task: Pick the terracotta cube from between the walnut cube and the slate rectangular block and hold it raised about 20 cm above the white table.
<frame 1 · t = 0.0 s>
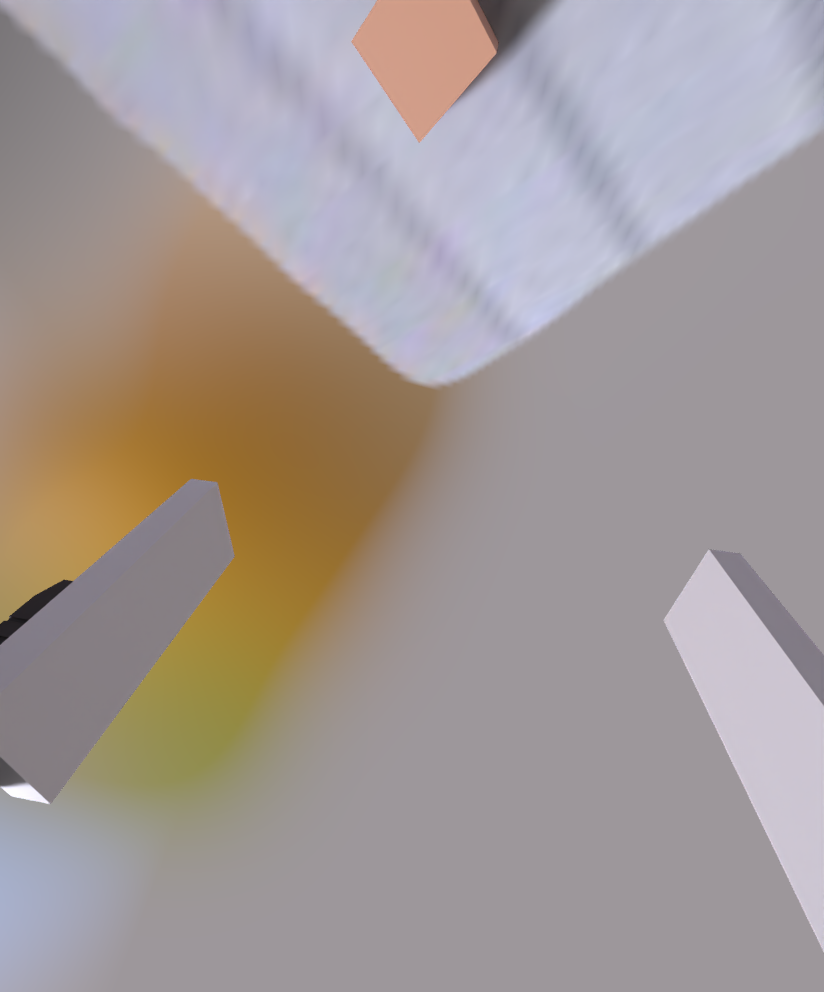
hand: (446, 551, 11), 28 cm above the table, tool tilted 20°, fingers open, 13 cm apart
terracotta cube: (435, 37, 22), on the table
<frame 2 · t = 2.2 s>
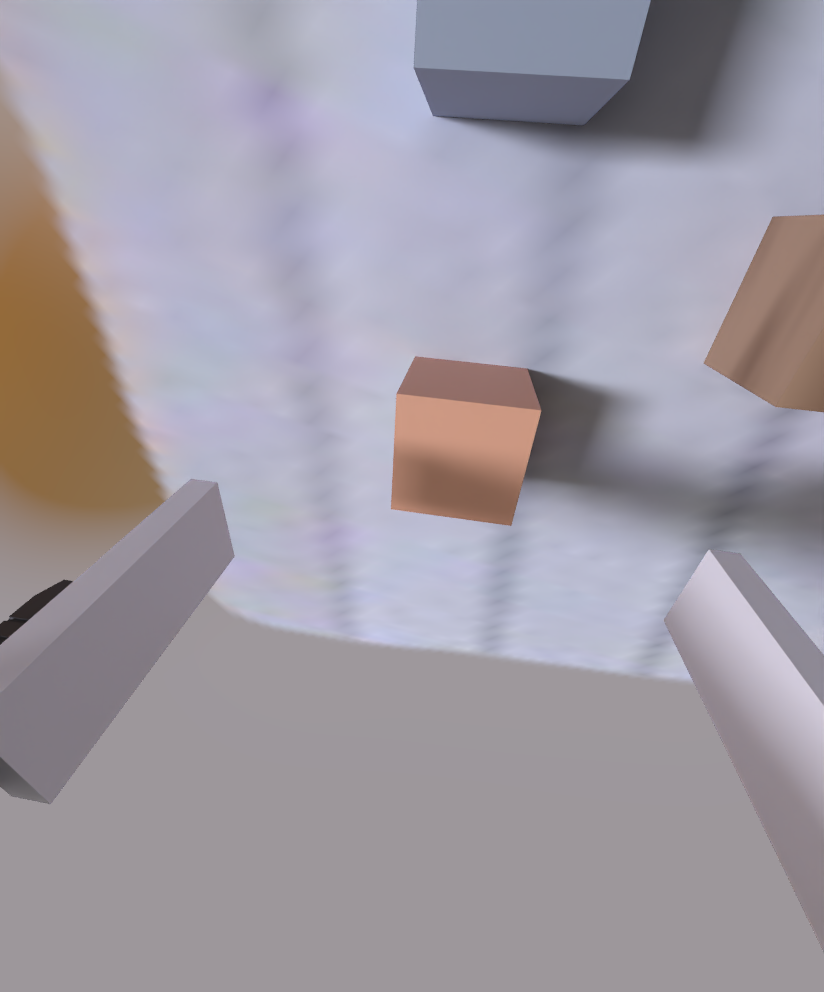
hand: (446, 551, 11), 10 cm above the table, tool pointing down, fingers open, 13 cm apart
terracotta cube: (462, 414, 19), on the table
slate rectangular block: (523, 9, 12), on the table
walnut cube: (803, 303, 15), on the table
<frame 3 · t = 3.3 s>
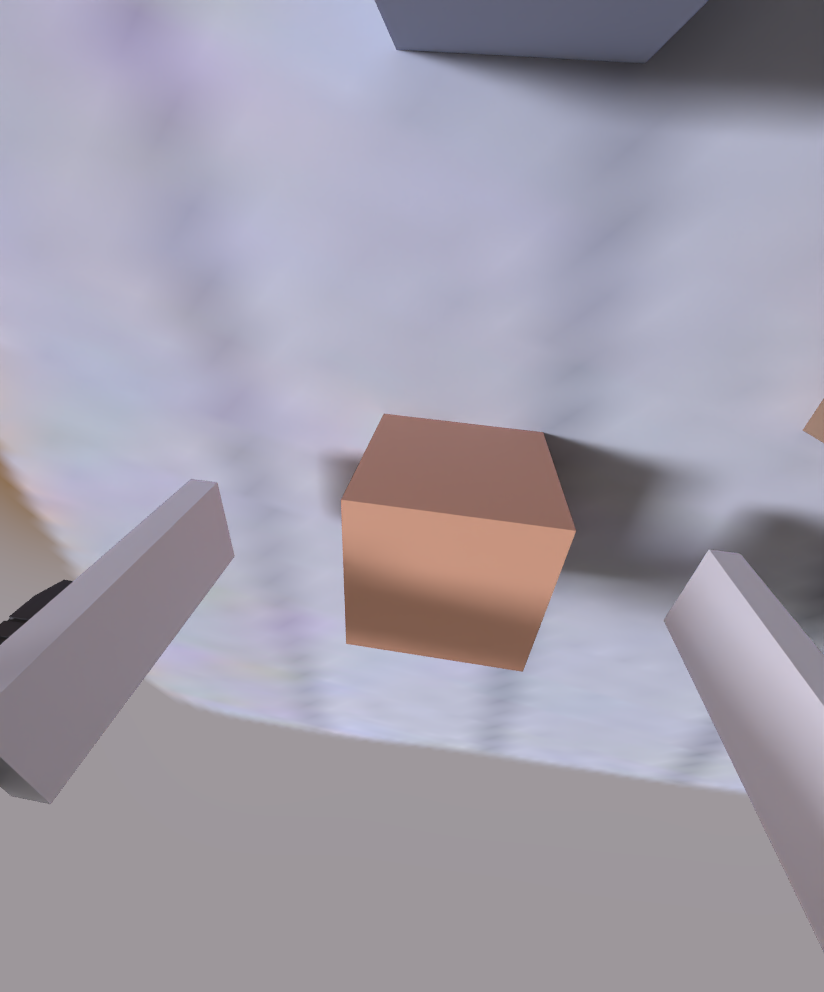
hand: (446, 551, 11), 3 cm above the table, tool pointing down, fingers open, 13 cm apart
terracotta cube: (452, 488, 14), on the table
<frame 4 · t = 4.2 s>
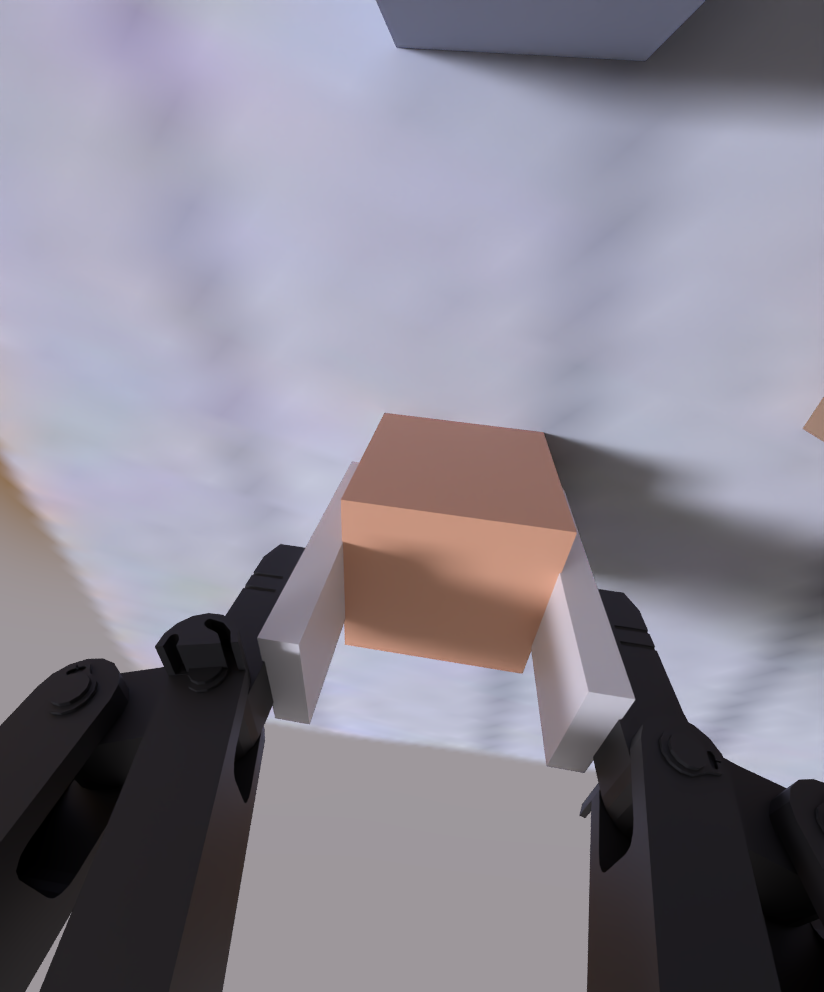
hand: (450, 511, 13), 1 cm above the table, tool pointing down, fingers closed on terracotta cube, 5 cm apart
terracotta cube: (452, 489, 14), on the table, touching gripper
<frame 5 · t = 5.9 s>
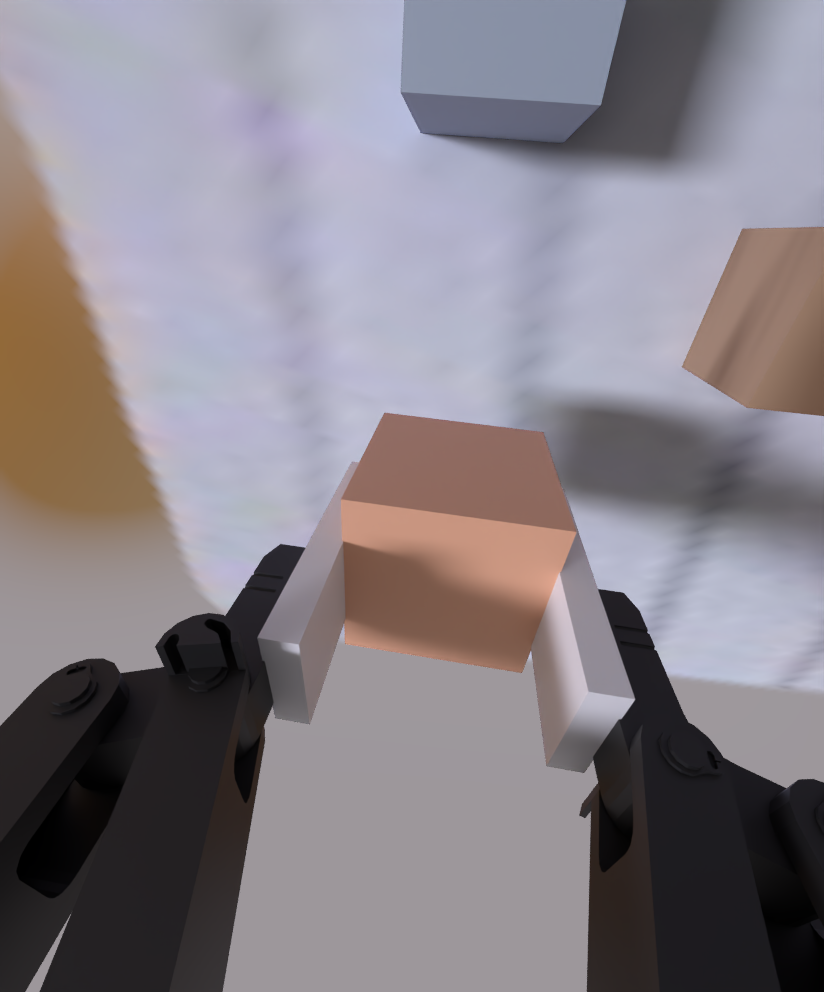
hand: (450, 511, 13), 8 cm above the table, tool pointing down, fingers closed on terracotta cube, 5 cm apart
terracotta cube: (452, 489, 14), point 7 cm above the table, touching gripper
slate rectangular block: (505, 35, 13), on the table
walnut cube: (773, 309, 16), on the table
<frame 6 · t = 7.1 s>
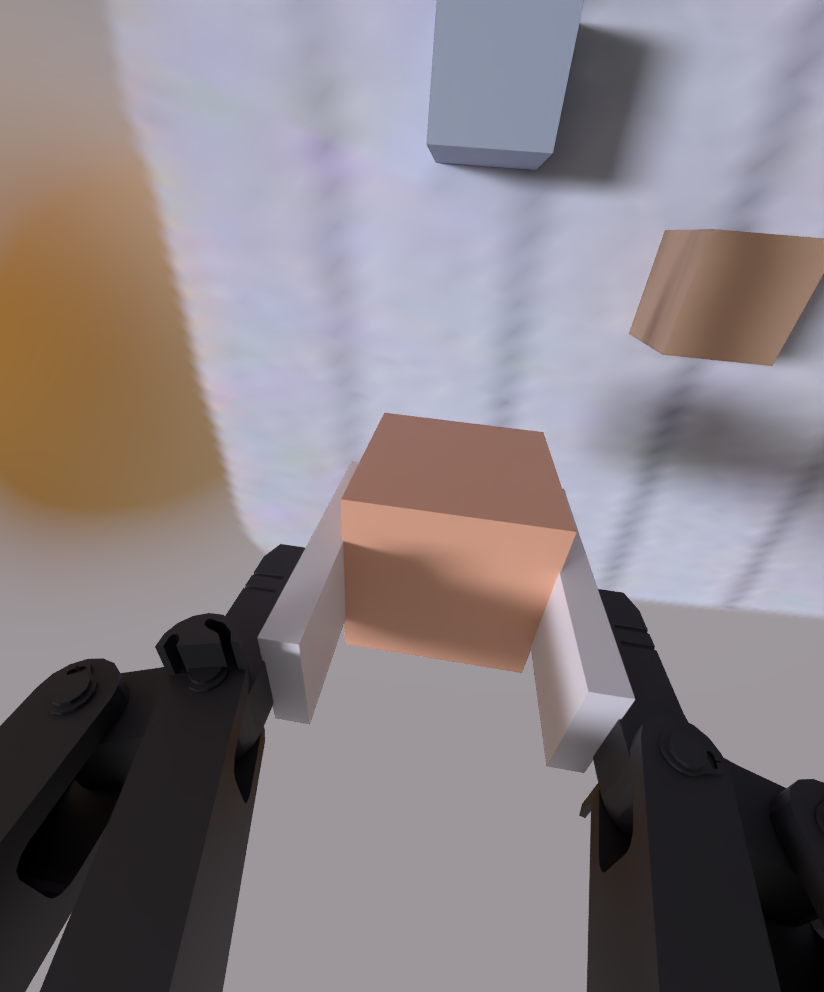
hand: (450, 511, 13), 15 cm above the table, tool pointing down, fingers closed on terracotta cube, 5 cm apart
terracotta cube: (452, 489, 14), point 14 cm above the table, touching gripper
slate rectangular block: (494, 97, 19), on the table
walnut cube: (692, 289, 22), on the table
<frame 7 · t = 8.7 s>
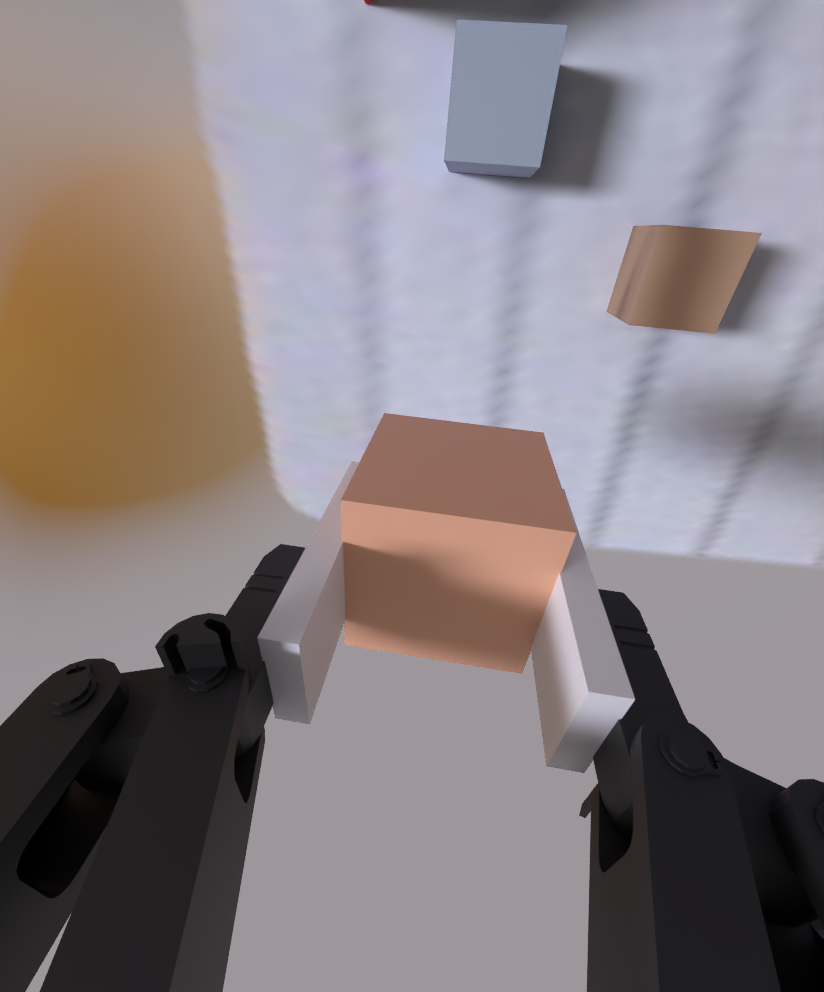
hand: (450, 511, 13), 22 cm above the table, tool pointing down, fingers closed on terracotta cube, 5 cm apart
terracotta cube: (452, 489, 14), point 20 cm above the table, touching gripper
slate rectangular block: (496, 121, 24), on the table
walnut cube: (657, 274, 27), on the table
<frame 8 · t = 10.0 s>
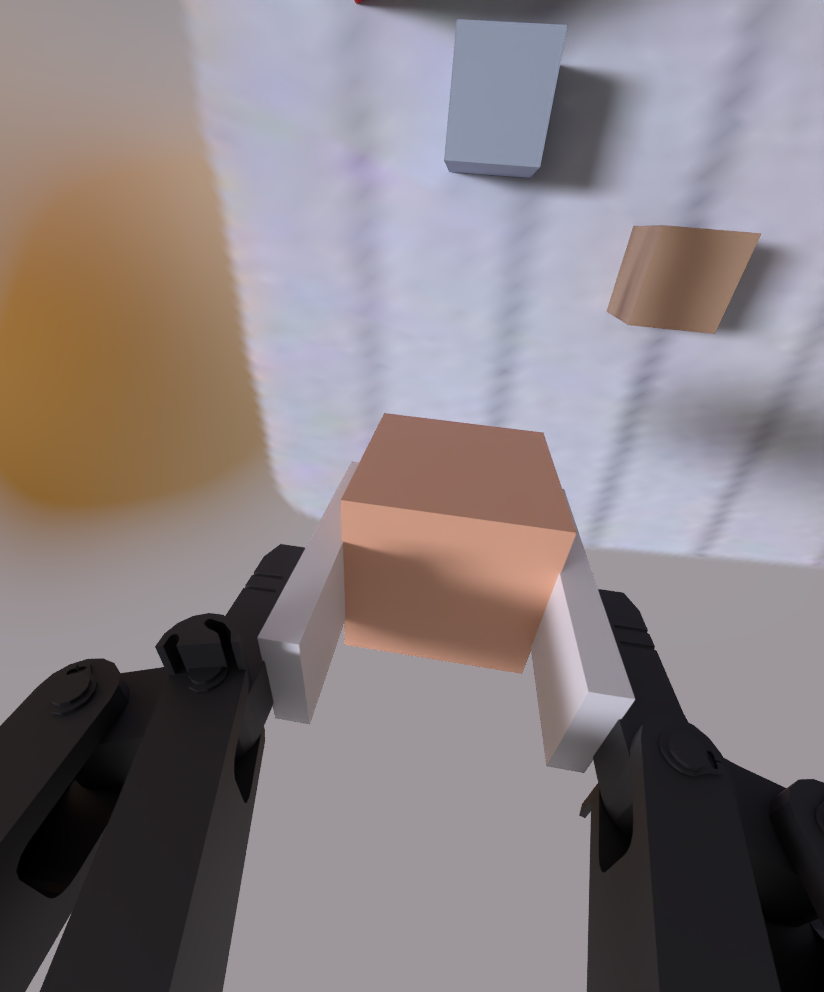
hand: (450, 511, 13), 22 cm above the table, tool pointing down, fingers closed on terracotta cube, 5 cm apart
terracotta cube: (452, 489, 14), point 20 cm above the table, touching gripper
slate rectangular block: (496, 121, 24), on the table
walnut cube: (657, 274, 27), on the table
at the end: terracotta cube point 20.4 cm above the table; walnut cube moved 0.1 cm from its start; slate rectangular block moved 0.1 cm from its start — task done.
